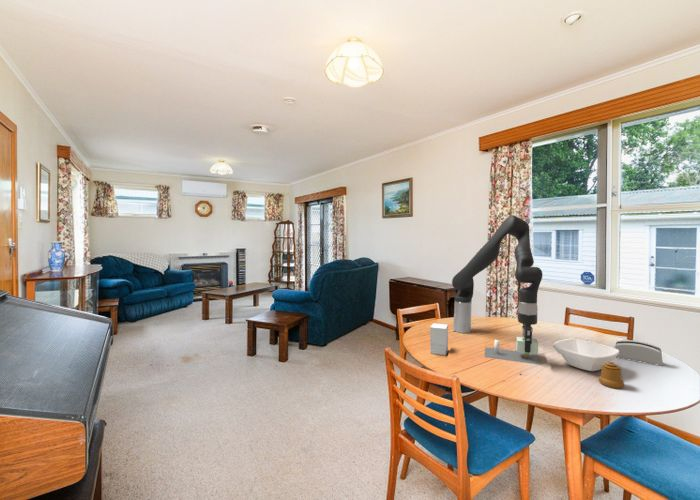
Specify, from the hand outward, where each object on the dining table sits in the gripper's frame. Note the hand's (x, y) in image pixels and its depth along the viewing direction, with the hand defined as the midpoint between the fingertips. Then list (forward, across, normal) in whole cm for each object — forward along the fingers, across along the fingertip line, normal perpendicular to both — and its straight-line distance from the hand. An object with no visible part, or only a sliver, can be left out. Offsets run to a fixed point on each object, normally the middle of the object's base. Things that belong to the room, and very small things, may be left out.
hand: (526, 349), depth 148 cm
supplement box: (+5, +4, -37) cm, 38 cm away
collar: (+1, 0, 0) cm, 1 cm away
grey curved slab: (+5, -19, +45) cm, 49 cm away
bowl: (+5, -2, +22) cm, 23 cm away
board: (+5, 0, -6) cm, 8 cm away
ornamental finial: (+5, +14, +27) cm, 31 cm away
